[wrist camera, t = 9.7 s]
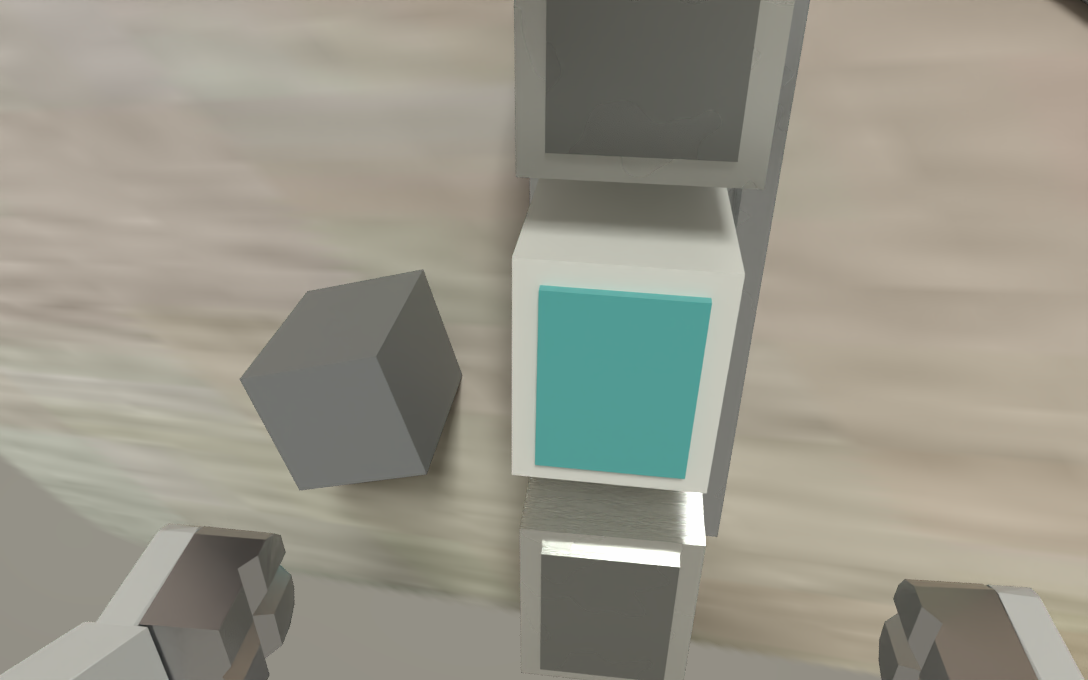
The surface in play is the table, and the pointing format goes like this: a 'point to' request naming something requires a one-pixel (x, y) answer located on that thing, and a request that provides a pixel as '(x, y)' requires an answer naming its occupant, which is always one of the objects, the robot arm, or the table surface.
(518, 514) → the table surface
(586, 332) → the block
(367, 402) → the block
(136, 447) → the table surface
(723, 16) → the rail
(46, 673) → the robot arm
